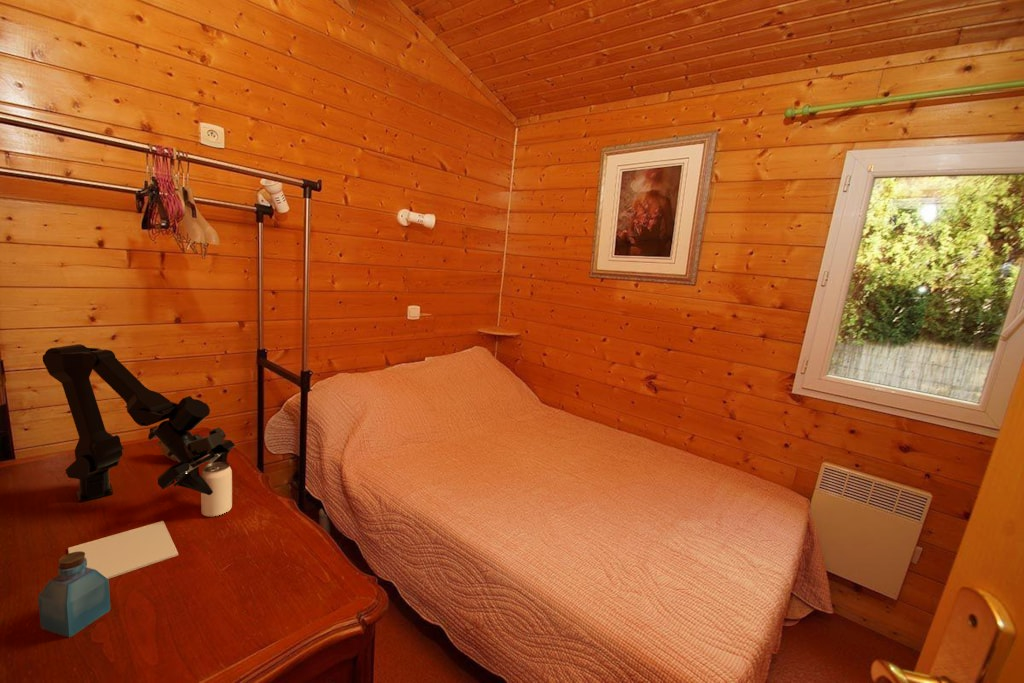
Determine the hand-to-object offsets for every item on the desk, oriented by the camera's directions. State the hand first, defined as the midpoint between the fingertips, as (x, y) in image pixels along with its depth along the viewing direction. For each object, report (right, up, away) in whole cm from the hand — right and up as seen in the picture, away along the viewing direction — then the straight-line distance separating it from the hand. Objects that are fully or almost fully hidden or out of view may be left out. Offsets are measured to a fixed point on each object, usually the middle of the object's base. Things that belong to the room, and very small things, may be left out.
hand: (221, 487), depth 109 cm
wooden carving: (-30, 0, +25) cm, 39 cm away
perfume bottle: (-3, -12, -33) cm, 36 cm away
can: (-2, -7, +1) cm, 7 cm away
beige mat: (-10, -8, -16) cm, 21 cm away
